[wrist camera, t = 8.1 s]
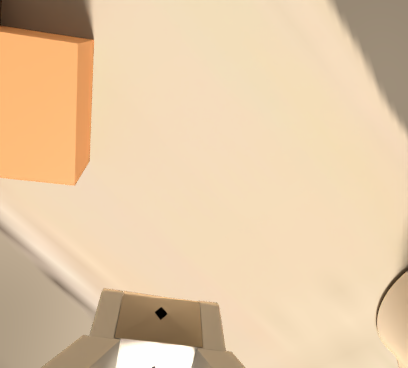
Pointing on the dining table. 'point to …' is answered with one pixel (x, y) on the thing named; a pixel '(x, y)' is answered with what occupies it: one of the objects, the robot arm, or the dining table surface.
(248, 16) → the dining table surface
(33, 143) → the orange block
